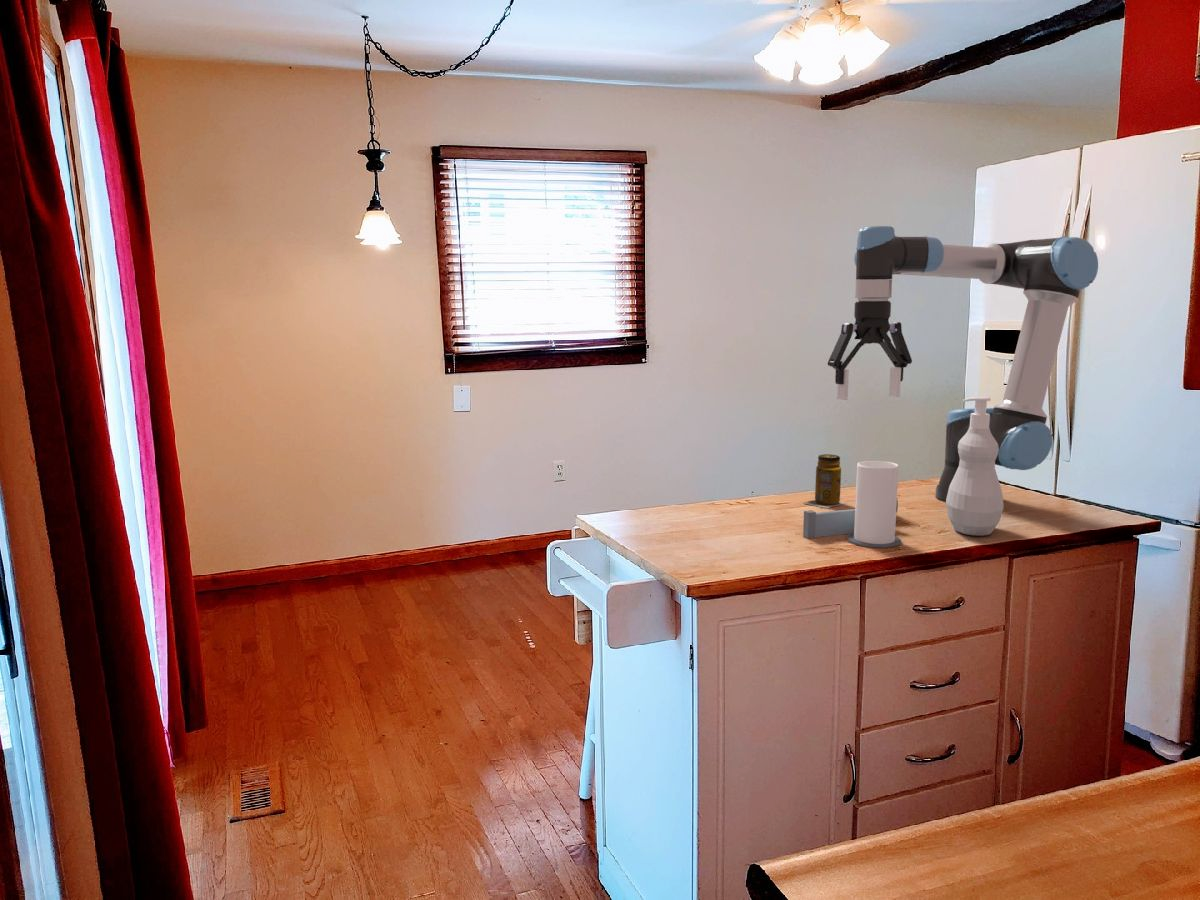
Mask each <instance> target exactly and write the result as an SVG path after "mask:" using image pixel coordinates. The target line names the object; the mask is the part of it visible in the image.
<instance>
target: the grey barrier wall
mask: <svg viewBox="0 0 1200 900" xmlns="http://www.w3.org/2000/svg"><path fill="white" fill-rule="evenodd" d="M854 526H855V508H851V509H843V510H842V509H840V510H830V511H822V512H816V511H814V510H804V511H803V529H802V530H803V531H802V536H803V537H804V538H806V539H815V538H819V537H828V536H837V535H839V536H840V535H846V534H853V533H854Z"/></svg>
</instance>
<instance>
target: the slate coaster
mask: <svg viewBox="0 0 1200 900" xmlns="http://www.w3.org/2000/svg"><path fill="white" fill-rule="evenodd" d="M846 541H847V542H849V544H852V545H855V546H859V547H863V548H864V547H865V548H871V549H872V548H873V549H886V548H887V549H888V548H889V549H890V548H896V547H898V546H901V545H902V539H901V538H899V536H896V535H895V541H894V542H892V543H888V544H871V543H864V542H860V541H858V540H856V539H855V538H854V533H849V534H848V535H847V536H846Z"/></svg>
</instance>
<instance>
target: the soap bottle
mask: <svg viewBox="0 0 1200 900" xmlns="http://www.w3.org/2000/svg"><path fill="white" fill-rule="evenodd" d="M991 400H992V399H991V397H990V396H989V397H988V396H970V397H967V398H963V399H962V402H963V403H964V402H973V401H974V408H975V413H971V415H970V427H969V429H968V431H967V433H966V434H965V435H964V436H963V437H962V438H961V440H960V441H959V444H958V453H959V457H960V462H959V467H958V469H957V471H956V473H955V475H954V478H953V480H952V482H951V484H950V486H949V490H948V494H947V498H946V501H945V504H946V511H947V516H948V519H949V521H950V523H951V525H952V527H953V529H954V530H955V531H957V532H959V533H960V534H964V535H968V536H976V537H977V536H979V537H980V536H987V535H990V534H992V533H993V531H994V530H995V529H996V527H997V526H998V524H999V523H1000V521H1001V517H1002V514H1003V512H1004V506H1005V504H1004V498H1003V497H1004V496H1003V491H1002V487H1001V484H1000V481H999V477H998V474H997V472H996V471H997V470H996V465H995V460H996V458H997V455H998V451H999V448H998V443H997V442H996V440H995V439H994V437H993V436H992V434H991V432H990V428H989V421H990V414H986V408H988V407H987V405H988V402H990V401H991Z"/></svg>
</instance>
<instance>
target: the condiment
mask: <svg viewBox="0 0 1200 900" xmlns="http://www.w3.org/2000/svg"><path fill="white" fill-rule="evenodd" d="M817 459H818V461H817V466H816V468H815V488H814V489H815V490H814V499H812V500H808V501H804V502H803V504H806V505H809V506H813V507H819V508H826V509H830V508H833V507H837V506H840V505H844V504H846V503H847V502H846V501H841V480H842V478H841V477H842V467H841V466H840V465H841V462H840V460H841V456H839V455H836V454H831V453H830V454H827V453H826V454H825V453H824V454H819V455H818V457H817Z"/></svg>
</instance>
